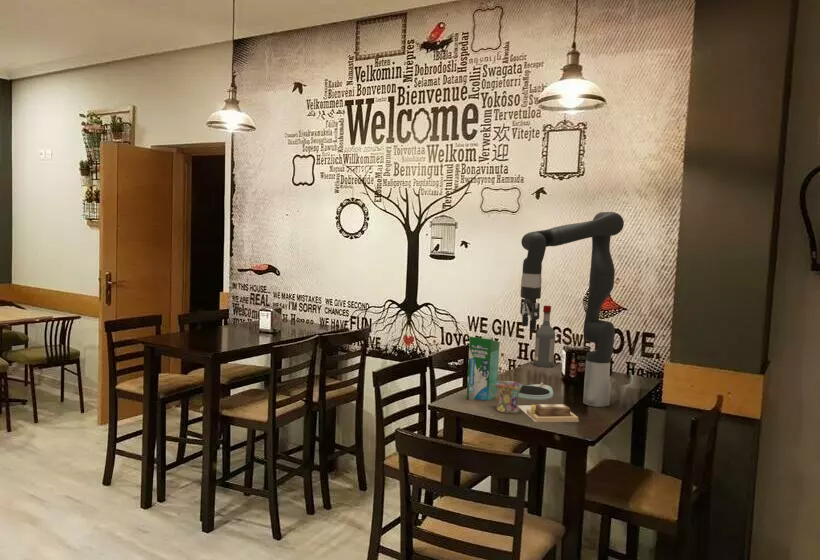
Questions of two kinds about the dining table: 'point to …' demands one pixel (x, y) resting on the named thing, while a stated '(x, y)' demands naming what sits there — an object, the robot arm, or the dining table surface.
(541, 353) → the liquor
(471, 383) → the milk carton
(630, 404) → the dining table surface
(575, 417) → the wooden tray
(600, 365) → the robot arm
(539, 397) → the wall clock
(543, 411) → the brown wooden block
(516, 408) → the mug
